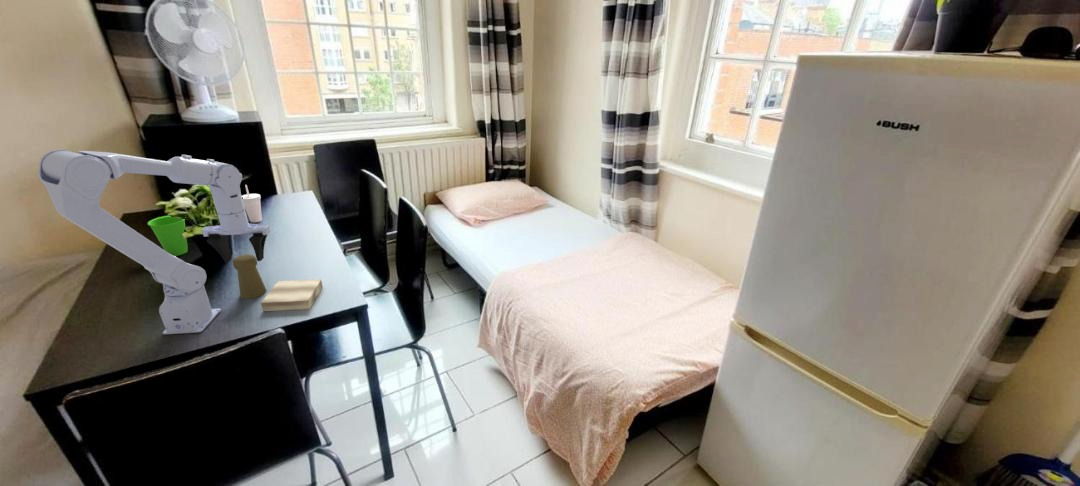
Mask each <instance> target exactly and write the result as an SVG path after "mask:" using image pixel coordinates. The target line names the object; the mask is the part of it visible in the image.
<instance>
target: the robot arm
mask: <svg viewBox="0 0 1080 486" xmlns="http://www.w3.org/2000/svg"><path fill="white" fill-rule="evenodd" d="M76 151H77V152H78V153H77V152H74V151H71V150H67V149H54V150H50V151H48V152H46V153H45V154H43V155H42V157H41V158H40V160H39V162H38V172H37V178H38V179H39V181H40V182H41V183H42V184H43V185H44V187H45V189H46V191H47V193H48V195H49V198H50V200H51V202H52V204H53V207H54V209H55V211H56V212H57V214H58V215H60V216H61V217H63V218H64V219H66V220H67V221H69V222H71V223H72V224H73V225H76V226H78V227H79V228H80V229H82V230H84V231H86V232H87V233H89V234H90V235H92V236H94V237H96V238H97V239H99V240H100V241H101V242H103V243H105V244H106V245H108V246H110V247H112V248H114V249H115V250H117V251H118V252H120V253H121V254H123V255H125V256H127V258H130V259H131V260H132V261H135V262H136V263H138V264H140V266H143V267H144V269H145V270H147V271H149V273H150V274H151V275H152V278H153V280H155V282H156V283H159V284H162V287H163V293H164V300H163V302H162V303H161V304H160V305H159V307H158V312H159V315H160V318H161V321H162V324H163V326H164V328H165V329H164V330H163V332H162V334H163V335H174V334H175V335H178V334H191V333H201V332H203V331H204V330H205V329H206V327H208V326H209V324H210V323H211V322H212V321H213V320H214V319H215V318H216V316H218V315H219V313H220V312H221V311H222V309H221V308H212V306H211V304H210V299H209V296H208V294H207V293H208V292H207V291H206V288H205V283H206V281H207V273H206V270H205V269H204V268H202V267H201V266H199V265H195V264H191V263H188V262H185V261H184V260H183V259H181V258H179V257H177V256H173V255H171V254H169V253H168V252H166V251H165V250H164V248H163V247H162V248H161V246H159V245H157V244H156V243H154V242H153V241H151V240H150V239H148V238H147V237H145V236H144V235H143V234H141V233H140V232H137V230H135V229H133V228H132V227H130V226H129V225H127V224H126V223H124V222H123V221H122V220H120V219H119V218H117V217H115V216H114V215H113V214H111V213H110V212H109V211H107V210H105V209H104V208H102V207H101V206H100V203H101V202H100V201H101V197H102V194H103V193H104V191H105V189H106V187H107V185H108V183H109V181H110V179H112V180H117V179H119V178H120V177H121V176H123V175H125V174H140V175H151V176H165V177H167V178H168V179H169V180H170V181H171V182H173V183H176V184H186V185H187V184H188V185H196V186H197V185H198V186H206V187H207V186H209V191H210V192H211V193H210V194H211V197H212V200H213V203H214V207H215V210H216V213H217V217H218V221H219V224H220V225H212V226H211V225H210V226H204V227H203V228H201V232H202V235H203V237H207V239H206V242H207V244H208V245H210V246H211V247H213V249H215V250H216V252H217V253H219V255H220V257H221V258H222V259H223V261H224V263H229V262H230V261H231V260H232V259H233V257H232V253H231V249H230V246H229V236H233V235H234V236H237V235H238V236H239V235H240V236H242V235H243V236H244V235H251V236H250V237H249V239H248V240H249V242H250V244H251V246H252V248H253V251H254V254H255V257H256V259H257V262H261V261H263V259H264V258H265V256H264V254H265V253H264V250H265V244H266V241H267V237H268V235H269V234H270V232H271V230H270V226H269V224H257V223H249V218H248V214H247V212H246V210H245V207H244V204H243V200H242V196H243V195H242V193H241V187H240V186H241V184H242V183H241V182H242V180H243V174H242V173H241V172H240V171H239V170H238V168H237V167H236V166H234V165H233V164H231V163H230V164H229V163H224V162H219V161H215V159H212V158H211V159H210V158H207V159H206V160H204V159H197V158H192V157H193V156H192V155H187V154H181V156H174V157H172V158H169V159H168V160H167V161H166V160H161V159H155V158H146V157H141V156H135V155H128V154H121V153H115V152H109V151H108V152H107V151H92V150H91V151H90V150H76Z"/></svg>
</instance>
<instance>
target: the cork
mask: <svg viewBox="0 0 1080 486" xmlns="http://www.w3.org/2000/svg"><path fill="white" fill-rule="evenodd" d="M232 265H233V268H234V269H235V270H237V279H238V287H239V297H240V298H241V299H243V300H244V299H245V300H253V299H257V298H259V297H262V296H263V295H265V294H266V293H267V288H266V286H265V284H264V282H263V279H262V277H261V274H260V272H259V270H258V268H257V265H258V261H257V258H256V256H254V255H253V254H240V255H238V256H236V257H234V259H233V261H232Z"/></svg>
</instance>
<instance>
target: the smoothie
mask: <svg viewBox="0 0 1080 486" xmlns="http://www.w3.org/2000/svg"><path fill="white" fill-rule="evenodd" d="M248 188H249V187H248V185H247V184H245V191H246V194H243V195H241V196H242V197H243V199H242V200H243V204H244V207H245V211H246V215H247V218H248V220H249V221H250V223H258V222H262V220H263V218H262V217H263V215H262V206H261V203H262V202H261V198H262V197H261V194H259V193H250V192H249V189H248Z"/></svg>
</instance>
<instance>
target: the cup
mask: <svg viewBox="0 0 1080 486" xmlns="http://www.w3.org/2000/svg"><path fill="white" fill-rule="evenodd" d="M185 220H186V219H176V218H174V217H171V216H170V215H163V216H158V217H156V218H153V219H151V220H149V221H148V222H147V226H149V227H150V228H151V230H152V231H153V234H154V235H155V236H156V238H157V240H158V241H159V243H160V245H161V247H162V249H163V250H165V251H166V252H168V253H169V254H171V255H173V256H175V257H177V256H181V255H184V254H186V253H188V249H189V248H188V240H187V239H188V238H187V239H184V238H183V237H182V233H183V232H184V230H185V228H186V222H185Z"/></svg>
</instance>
